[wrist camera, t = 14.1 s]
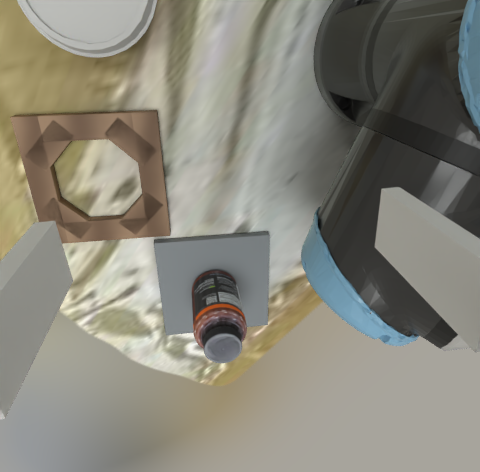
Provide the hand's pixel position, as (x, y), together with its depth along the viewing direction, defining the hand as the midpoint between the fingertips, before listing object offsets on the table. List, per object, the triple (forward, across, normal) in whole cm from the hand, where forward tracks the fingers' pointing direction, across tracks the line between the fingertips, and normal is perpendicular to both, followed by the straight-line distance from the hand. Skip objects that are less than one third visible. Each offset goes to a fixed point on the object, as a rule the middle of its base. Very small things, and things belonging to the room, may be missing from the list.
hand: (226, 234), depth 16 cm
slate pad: (+28, 0, +21) cm, 35 cm away
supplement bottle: (+27, 0, +21) cm, 34 cm away
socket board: (+28, +12, +5) cm, 31 cm away
